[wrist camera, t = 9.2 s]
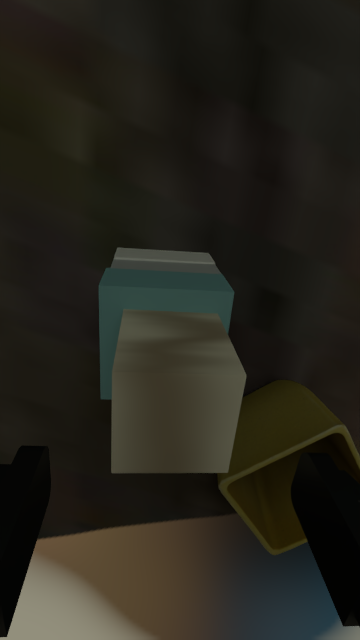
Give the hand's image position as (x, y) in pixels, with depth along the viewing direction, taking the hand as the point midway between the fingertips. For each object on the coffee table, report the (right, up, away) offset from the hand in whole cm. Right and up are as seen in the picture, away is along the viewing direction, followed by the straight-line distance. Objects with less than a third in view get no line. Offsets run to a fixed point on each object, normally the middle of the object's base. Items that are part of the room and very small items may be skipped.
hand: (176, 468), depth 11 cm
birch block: (0, +3, +7) cm, 7 cm away
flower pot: (+8, -3, +20) cm, 21 cm away
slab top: (-1, +5, +9) cm, 10 cm away
